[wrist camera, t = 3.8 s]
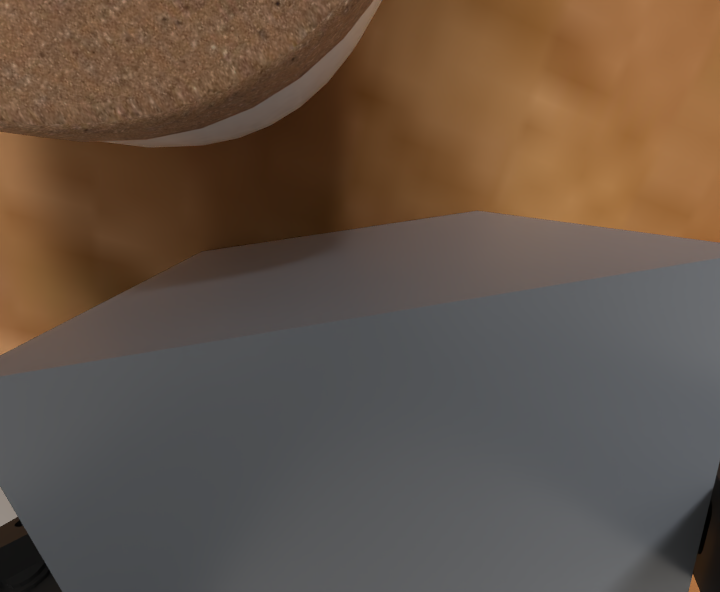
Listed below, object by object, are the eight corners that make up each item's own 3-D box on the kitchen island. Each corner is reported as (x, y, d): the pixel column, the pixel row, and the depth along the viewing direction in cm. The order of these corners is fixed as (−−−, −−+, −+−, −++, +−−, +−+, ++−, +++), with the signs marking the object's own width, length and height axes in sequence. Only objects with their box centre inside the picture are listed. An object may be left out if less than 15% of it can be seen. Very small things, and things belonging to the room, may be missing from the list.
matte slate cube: (201, 251, 12) (-59, 386, 4) (477, 210, 13) (769, 250, 4) (264, 475, 15) (195, 817, 7) (483, 433, 16) (661, 701, 8)
